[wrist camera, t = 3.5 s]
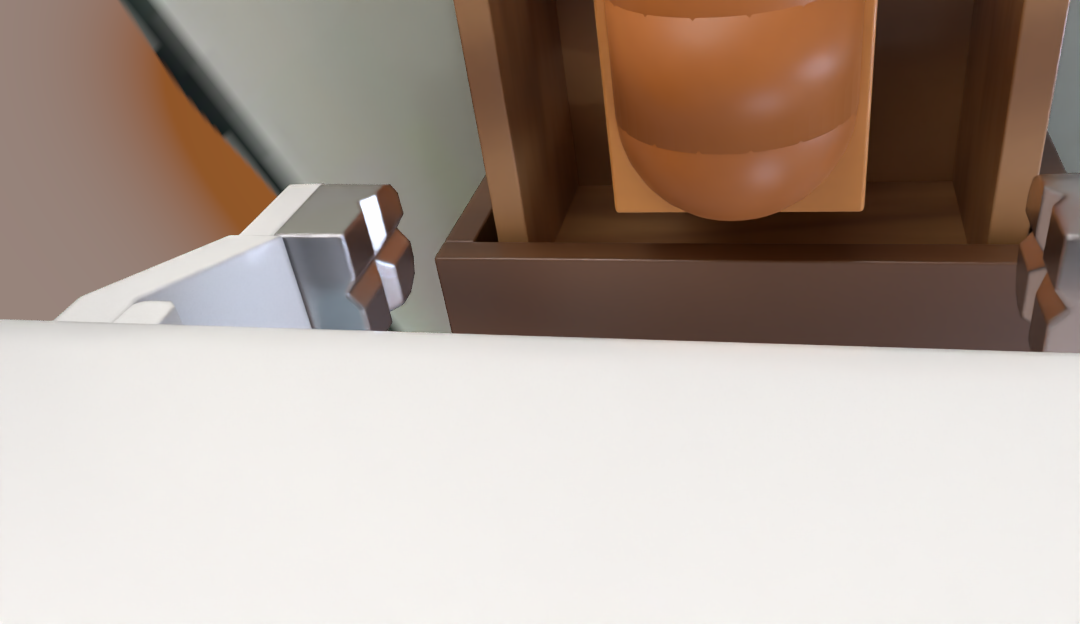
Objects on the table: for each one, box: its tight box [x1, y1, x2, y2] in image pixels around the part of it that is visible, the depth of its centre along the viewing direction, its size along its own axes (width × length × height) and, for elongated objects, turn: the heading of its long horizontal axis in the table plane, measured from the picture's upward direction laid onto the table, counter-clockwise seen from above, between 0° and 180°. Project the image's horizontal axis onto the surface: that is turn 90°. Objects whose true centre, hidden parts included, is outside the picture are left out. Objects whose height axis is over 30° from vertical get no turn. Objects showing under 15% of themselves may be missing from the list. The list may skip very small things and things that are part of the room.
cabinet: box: [435, 131, 1067, 352], centre depth 29 cm, size 16×15×9 cm
